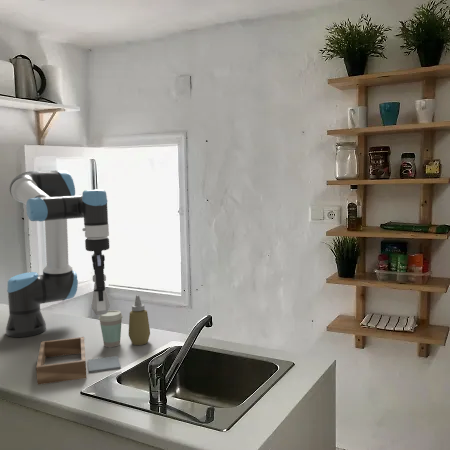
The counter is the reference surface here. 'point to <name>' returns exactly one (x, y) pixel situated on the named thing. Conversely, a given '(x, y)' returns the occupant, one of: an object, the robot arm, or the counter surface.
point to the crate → (61, 370)
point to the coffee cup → (111, 328)
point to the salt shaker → (94, 301)
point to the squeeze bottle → (138, 324)
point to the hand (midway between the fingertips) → (100, 307)
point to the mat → (103, 364)
